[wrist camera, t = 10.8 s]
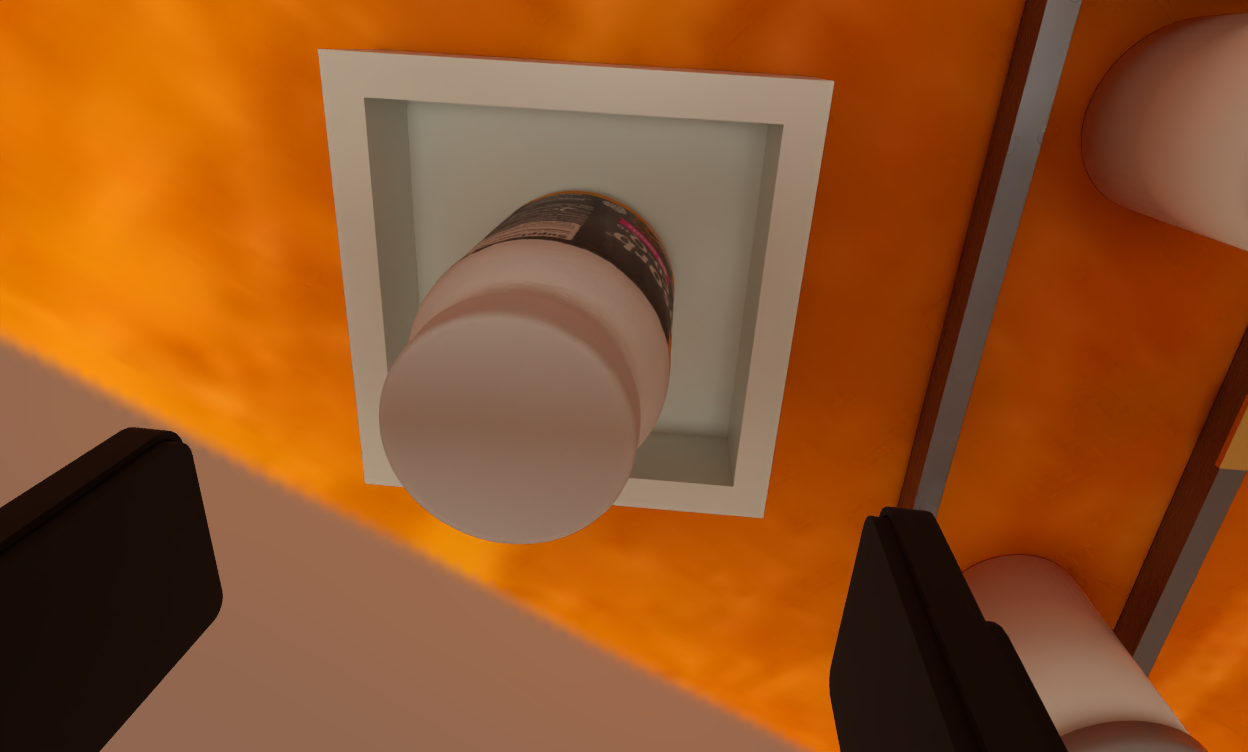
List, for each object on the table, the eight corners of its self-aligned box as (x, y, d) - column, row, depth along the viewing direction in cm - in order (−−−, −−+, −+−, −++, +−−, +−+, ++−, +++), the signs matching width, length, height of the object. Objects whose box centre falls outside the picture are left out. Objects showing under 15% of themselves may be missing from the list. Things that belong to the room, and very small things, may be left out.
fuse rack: (1449, -32, 18) (1509, -38, 16) (1112, 699, 28) (1133, 730, 27) (1040, -54, 18) (1068, -62, 17) (855, 674, 28) (863, 704, 27)
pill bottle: (700, 334, 22) (714, 527, 13) (531, 389, 23) (437, 601, 14) (635, 154, 20) (598, 235, 11) (454, 225, 21) (287, 349, 12)
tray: (809, 76, 20) (834, 81, 16) (752, 457, 25) (762, 517, 21) (375, 49, 20) (317, 49, 17) (405, 428, 25) (365, 483, 22)
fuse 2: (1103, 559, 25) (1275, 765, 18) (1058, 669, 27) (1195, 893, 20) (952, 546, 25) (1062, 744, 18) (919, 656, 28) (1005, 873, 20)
